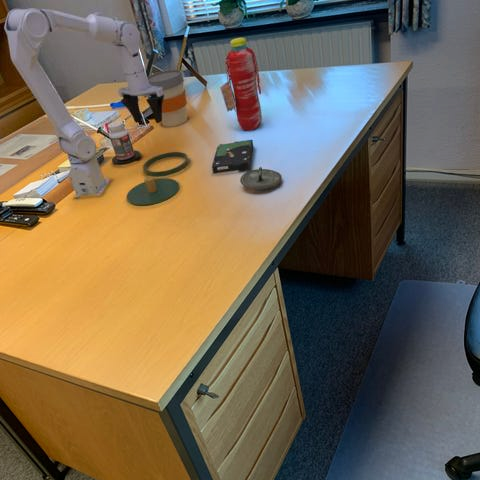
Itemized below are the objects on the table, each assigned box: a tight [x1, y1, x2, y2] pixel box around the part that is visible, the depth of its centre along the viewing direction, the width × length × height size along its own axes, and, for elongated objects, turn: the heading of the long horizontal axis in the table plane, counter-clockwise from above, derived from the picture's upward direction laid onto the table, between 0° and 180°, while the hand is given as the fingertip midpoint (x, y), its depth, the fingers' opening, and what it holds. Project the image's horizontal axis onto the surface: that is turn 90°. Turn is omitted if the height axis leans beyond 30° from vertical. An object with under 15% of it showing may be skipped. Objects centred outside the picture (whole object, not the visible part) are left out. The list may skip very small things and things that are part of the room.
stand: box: [111, 149, 142, 166], centre depth 149 cm, size 9×9×1 cm
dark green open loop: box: [142, 151, 190, 178], centre depth 139 cm, size 13×13×2 cm
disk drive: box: [211, 139, 255, 174], centre depth 135 cm, size 10×3×15 cm
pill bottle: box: [107, 120, 135, 160], centre depth 145 cm, size 6×6×10 cm
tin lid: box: [126, 176, 180, 207], centre depth 127 cm, size 14×14×5 cm
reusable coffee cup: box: [147, 69, 188, 128], centre depth 164 cm, size 13×13×15 cm
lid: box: [239, 166, 283, 190], centre depth 121 cm, size 11×10×5 cm
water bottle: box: [220, 37, 263, 131], centre depth 145 cm, size 12×8×25 cm, turn 90°
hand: (149, 121), depth 142 cm, fingers open, 7 cm apart
